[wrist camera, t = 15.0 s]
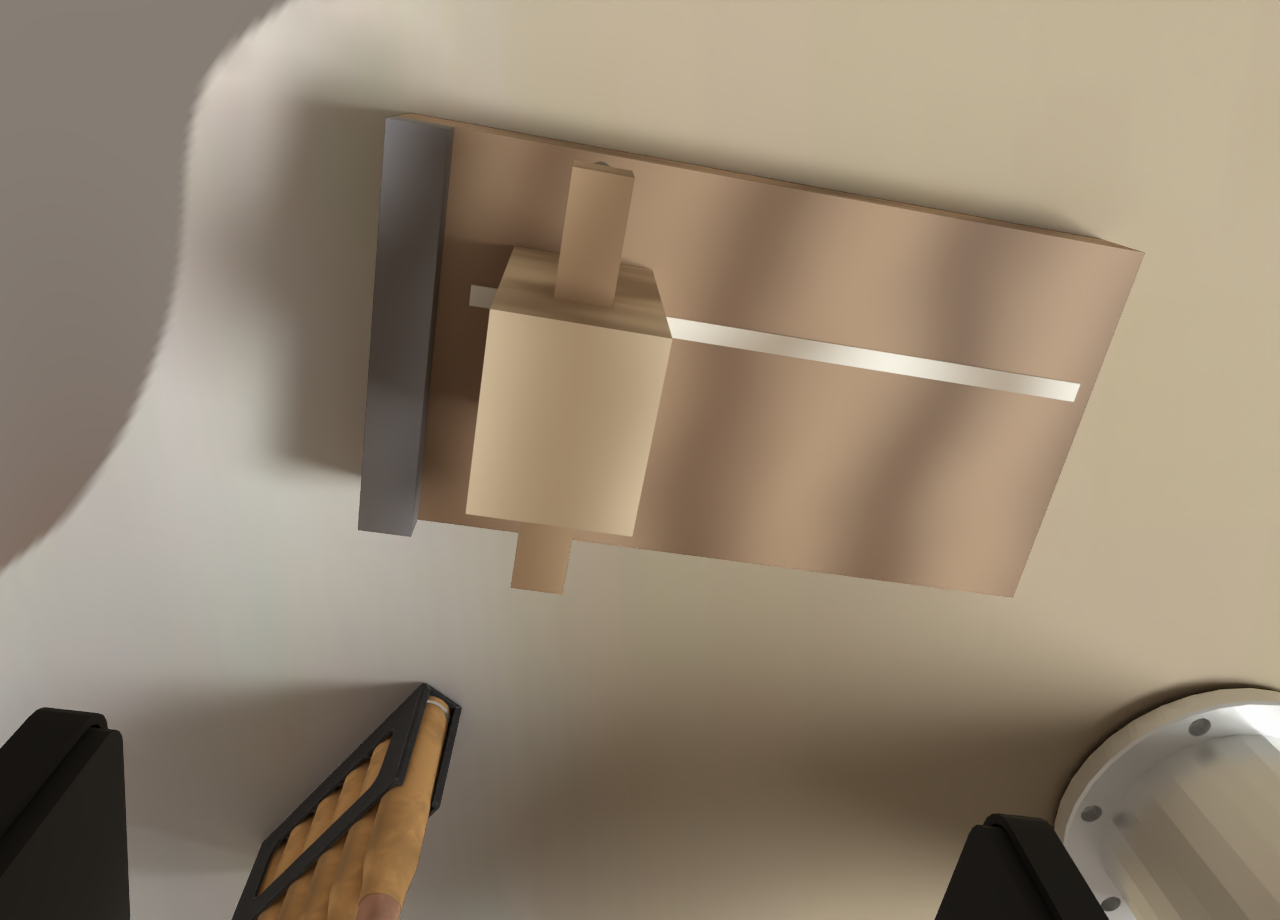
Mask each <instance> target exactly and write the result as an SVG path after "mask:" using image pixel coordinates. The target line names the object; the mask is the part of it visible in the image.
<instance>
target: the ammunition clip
mask: <svg viewBox="0 0 1280 920" xmlns="http://www.w3.org/2000/svg"><path fill="white" fill-rule="evenodd" d="M461 709H462V707H460V706H459V705H457V704H456V703H454V702H453V701H451V700H450V699H449V698H447V697H446V696H444V695H443V694H441V693H440V692H438V691H437V690H435V689H434V688H432V687H431V686H429V685H428V684H421V685H420V686H419V687H418V688H417V689H416V690H415V691H414V692H413V693H412V694H411V695H410V696H409V697H408V698H407V699H406V700H405V701H404V702H403V703H402V704H401V705H400V706H399V707H398V708H397V709H396V710H395V711H394V712H393V713H392V714H391V715H390V716H389V717H388V718H387V719H386V720H385V721H384V722H383V723H382V724H381V725H380V726H379V727H378V728H377V729H376V730H375V731H374V732H373V733H372V734H371V735H370V736H369V737H368V738H367V739H366V740H365V741H364V742H363V743H362V744H361V745H360V746H359V747H358V748H357V749H356V750H355V751H354V752H353V753H352V754H351V755H350V756H349V757H348V758H347V759H346V760H345V761H344V762H343V763H342V764H341V765H340V766H339V767H338V768H337V769H336V770H335V771H334V772H333V773H332V774H331V775H330V776H329V777H328V778H327V779H326V780H325V781H324V782H323V783H322V784H321V785H320V786H319V787H318V788H317V789H316V790H315V791H314V792H313V793H312V794H311V795H310V796H309V797H308V798H307V799H306V800H305V801H304V802H303V803H302V804H301V805H300V806H299V807H298V808H297V809H296V810H295V811H294V812H293V813H292V814H291V815H290V816H289V817H288V818H287V819H286V820H285V821H284V822H283V823H282V824H281V825H280V826H279V827H278V828H277V829H276V830H275V831H274V832H273V833H272V834H271V835H270V836H269V837H268V838H267V839H266V840H265V841H264V842H263V843H262V846H261V848H260V851H259V853H258V856H257V858H256V861H255V863H254V865H253V868H252V870H251V873H250V875H249V878H248V880H247V883H246V885H245V888H244V890H243V893H242V895H241V898H240V900H239V903H238V905H237V908H236V910H235V913H234V915H233V918H232V920H398V918H399V915H400V912H401V910H402V906H403V903H404V899H405V896H406V892H407V889H408V887H409V885H410V883H411V881H412V879H413V876H414V874H415V872H416V869H417V866H418V861H419V857H420V852H421V848H422V843H423V839H424V834H425V830H426V825H427V821H428V818H429V817H430V816H431V815H432V814H433V813H434V812H435V811H436V810H437V809H438V808H439V807H440V803H441V799H442V794H443V790H444V785H445V781H446V776H447V772H448V767H449V763H450V758H451V754H452V749H453V745H454V740H455V736H456V732H457V727H458V723H459V718H460V714H461Z"/></svg>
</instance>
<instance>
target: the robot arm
mask: <svg viewBox="0 0 1280 920" xmlns="http://www.w3.org/2000/svg"><path fill="white" fill-rule="evenodd" d="M0 920H130V903H129V879H128V855H127V831H126V807H125V782H124V758H123V740H122V735H121V733H120V731H117V730H111V729H108V726H107V721H106V719H105V717H104V715H102V714H99V713H91V712H82V711H73V710H64V709H55V708H46V707H44V708H41V709H38V710H36V711H35V712H34V713H33V714H32V715H31V716H29V718H28V719H27V720H26V721H25V722H24V723H23V724H22V725H21V726H20V728H19V729H18V730H17V731H16V732H15V733H14V734H13V735H12V736H11V737H10V739H9V740H8V741H7V742H6V743H5V744H4V745H3V746H2V747H1V749H0ZM935 920H1280V692H1277V691H1270V690H1262V689H1254V688H1241V689H1221V690H1216V691H1211V692H1206V693H1201V694H1196V695H1191V696H1188V697H1185V698H1182V699H1179V700H1177V701H1174V702H1171V703H1168V704H1165V705H1162V706H1160V707H1158V708H1156V709H1154V710H1152V711H1150V712H1148V713H1146V714H1144V715H1143V716H1141V717H1139V718H1137V719H1135V720H1133V721H1132V722H1130V723H1129V724H1127V725H1126V726H1125V727H1123V728H1122V729H1120V730H1119V731H1118V732H1116V733H1115V734H1113V735H1112V736H1110V737H1109V738H1108V739H1107V740H1106V741H1105V742H1104V743H1103V744H1102V745H1101V746H1100V747H1099V748H1098V749H1097V750H1095V751H1094V752H1093V753H1092V754H1091V755H1090V756H1089V757H1088V759H1087V760H1086V761H1085V762H1084V764H1083V765H1082V766H1081V768H1080V769H1079V770H1078V772H1077V773H1076V774H1075V776H1074V777H1073V778H1072V780H1071V782H1070V784H1069V786H1068V788H1067V790H1066V791H1065V793H1064V795H1063V797H1062V799H1061V801H1060V805H1059V809H1058V812H1057V816H1056V820H1055V824H1054V829H1053V828H1052V826H1051V825H1050V824H1049V823H1048V822H1047V821H1045V820H1043V819H1042V818H1033V817H1024V816H1015V815H1006V814H991V815H990V816H989V817H987V819H986V820H985V822H984V824H983V825H976V826H974V827H973V828H972V830H971V831H970V833H969V836H968V838H967V840H966V843H965V845H964V848H963V850H962V853H961V855H960V858H959V860H958V863H957V865H956V868H955V870H954V873H953V875H952V878H951V880H950V883H949V885H948V888H947V890H946V893H945V895H944V898H943V900H942V903H941V905H940V908H939V910H938V913H937V915H936V918H935Z"/></svg>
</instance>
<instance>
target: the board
mask: <svg viewBox="0 0 1280 920" xmlns="http://www.w3.org/2000/svg"><path fill="white" fill-rule="evenodd" d="M574 160H577V161H583V162H588V163H593V164H594V163H596V162H599V161H602V162H605V163H607V164H609V165H610V167H615V168H620V169H626V170H631V171H633V174H634V177H635V181H634V187H633V192H632V198H631V204H630V210H629V215H628V221H627V227H626V233H625V238H624V244H623V250H622V255H621V261H620V264H622V265H628V266H634V267H639V268H645V269H651V270H653V273H654V277H655V280H656V284H657V287H658V291H659V294H660V297H661V301H662V304H663V308H664V311H665V315H666V318H667V321H668V325H669V328H670V332H671V335H672V344H671V349H670V354H669V359H668V364H667V369H666V374H665V378H664V383H663V388H662V393H661V398H660V403H659V408H658V413H657V418H656V423H655V428H654V432H653V437H652V442H651V447H650V452H649V457H648V462H647V467H646V472H645V477H644V482H643V486H642V491H641V496H640V501H639V506H638V511H637V516H636V521H635V526H634V531H633V535H632V537H631V536H624V535H616V534H609V533H602V532H594V531H587V530H580V529H574V531H573V537H572V540H578V541H586V542H593V543H601V544H608V545H616V546H624V547H631V548H639V549H646V550H654V551H662V552H669V553H677V554H684V555H692V556H700V557H707V558H715V559H723V560H730V561H738V562H745V563H753V564H761V565H768V566H776V567H783V568H791V569H799V570H806V571H814V572H821V573H829V574H837V575H844V576H852V577H859V578H867V579H875V580H882V581H890V582H897V583H905V584H913V585H920V586H928V587H935V588H943V589H951V590H958V591H966V592H974V593H981V594H989V595H996V596H1004V597H1012V598H1013V596H1014V593H1015V591H1016V588H1017V586H1018V583H1019V580H1020V578H1021V575H1022V573H1023V570H1024V567H1025V565H1026V562H1027V560H1028V557H1029V554H1030V552H1031V549H1032V546H1033V544H1034V541H1035V539H1036V536H1037V533H1038V531H1039V528H1040V526H1041V523H1042V520H1043V518H1044V515H1045V513H1046V510H1047V507H1048V505H1049V502H1050V499H1051V497H1052V494H1053V492H1054V489H1055V486H1056V484H1057V481H1058V479H1059V476H1060V473H1061V471H1062V468H1063V466H1064V463H1065V460H1066V458H1067V455H1068V452H1069V450H1070V447H1071V445H1072V442H1073V439H1074V437H1075V434H1076V432H1077V429H1078V426H1079V424H1080V421H1081V419H1082V416H1083V413H1084V411H1085V408H1086V405H1087V403H1088V400H1089V398H1090V395H1091V392H1092V390H1093V387H1094V385H1095V382H1096V379H1097V377H1098V374H1099V372H1100V369H1101V366H1102V364H1103V361H1104V358H1105V356H1106V353H1107V351H1108V348H1109V345H1110V343H1111V340H1112V338H1113V335H1114V332H1115V330H1116V327H1117V325H1118V322H1119V319H1120V317H1121V314H1122V311H1123V309H1124V306H1125V304H1126V301H1127V298H1128V296H1129V293H1130V291H1131V288H1132V285H1133V283H1134V280H1135V278H1136V275H1137V272H1138V270H1139V267H1140V264H1141V262H1142V259H1143V257H1144V254H1145V253H1144V252H1141V251H1137V250H1134V249H1131V248H1128V247H1125V246H1122V245H1118V244H1115V243H1112V242H1109V241H1106V240H1102V239H1097V238H1091V237H1086V236H1080V235H1075V234H1069V233H1064V232H1059V231H1053V230H1048V229H1042V228H1037V227H1031V226H1026V225H1020V224H1015V223H1009V222H1004V221H998V220H993V219H988V218H982V217H977V216H971V215H966V214H960V213H955V212H949V211H944V210H938V209H933V208H927V207H922V206H917V205H911V204H906V203H900V202H895V201H889V200H884V199H878V198H873V197H867V196H862V195H856V194H851V193H846V192H840V191H835V190H829V189H824V188H818V187H813V186H807V185H802V184H796V183H791V182H785V181H780V180H775V179H769V178H764V177H758V176H753V175H747V174H742V173H736V172H731V171H725V170H720V169H714V168H709V167H704V166H698V165H693V164H687V163H682V162H676V161H671V160H665V159H660V158H654V157H649V156H643V155H638V154H633V153H627V152H622V151H616V150H611V149H605V148H600V147H594V146H589V145H583V144H578V143H572V142H567V141H562V140H556V139H551V138H545V137H540V136H534V135H529V134H523V133H518V132H512V131H507V130H501V129H496V128H491V127H485V126H480V125H474V124H469V123H463V122H458V121H452V120H447V119H441V118H436V117H431V116H425V115H420V114H414V113H407V114H402V115H397V116H392V117H388V118H386V121H385V136H384V151H383V166H382V180H381V195H380V210H379V225H378V240H377V254H376V269H375V284H374V299H373V314H372V329H371V343H370V358H369V373H368V388H367V403H366V418H365V432H364V447H363V462H362V477H361V492H360V507H359V521H358V530H362V531H370V532H378V533H385V534H393V535H401V536H409V537H411V535H412V532H413V530H414V527H415V525H416V522H417V519H418V520H426V521H433V522H441V523H449V524H456V525H464V526H471V527H479V528H487V529H494V530H502V531H510V532H517V533H519V528H520V522H521V521H514V520H507V519H499V518H492V517H485V516H477V515H470V514H466V506H467V497H468V489H469V481H470V472H471V464H472V456H473V447H474V439H475V431H476V422H477V414H478V406H479V397H480V389H481V380H482V372H483V364H484V355H485V347H486V339H487V330H488V322H489V314H490V308H491V305H492V303H493V300H494V298H495V295H496V292H497V290H498V287H499V285H500V282H501V280H502V277H503V274H504V272H505V269H506V267H507V264H508V261H509V259H510V256H511V254H512V251H513V249H514V246H518V247H524V248H529V249H535V250H541V251H547V252H553V253H558V254H560V250H561V243H562V236H563V229H564V223H565V216H566V209H567V202H568V195H569V189H570V182H571V175H572V168H573V162H574Z"/></svg>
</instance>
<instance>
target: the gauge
mask: <svg viewBox="0 0 1280 920" xmlns="http://www.w3.org/2000/svg"><path fill="white" fill-rule="evenodd" d="M634 181H635V177H634V174H633V171H631V170H626V169H620V168H615V167H610V165H609V164H607V163H605V162H602V161H599V162H596V163H594V164H593V163H588V162H583V161H577V160H574V162H573V168H572V175H571V182H570V189H569V195H568V202H567V209H566V216H565V223H564V229H563V236H562V243H561V250H560V254H558V253H553V252H547V251H541V250H535V249H529V248H524V247H518V246H514V249H513V251H512V254H511V256H510V259H509V261H508V264H507V267H506V269H505V272H504V274H503V277H502V280H501V282H500V285H499V287H498V290H497V292H496V295H495V298H494V300H493V303H492V305H491V308H490V314H489V322H488V330H487V339H486V347H485V355H484V364H483V372H482V380H481V389H480V397H479V406H478V414H477V422H476V431H475V439H474V447H473V456H472V464H471V472H470V481H469V489H468V497H467V506H466V514H470V515H477V516H485V517H492V518H499V519H507V520H514V521H521V522H520V528H519V535H518V542H517V549H516V556H515V562H514V569H513V576H512V583H511V588H517V589H524V590H532V591H540V592H548V593H556V594H563V589H564V583H565V577H566V571H567V566H568V560H569V554H570V548H571V543H572V537H573V531H574V529H580V530H587V531H594V532H602V533H609V534H616V535H624V536H631V537H632V535H633V531H634V526H635V521H636V516H637V511H638V506H639V501H640V496H641V491H642V486H643V482H644V477H645V472H646V467H647V462H648V457H649V452H650V447H651V442H652V437H653V432H654V428H655V423H656V418H657V413H658V408H659V403H660V398H661V393H662V388H663V383H664V378H665V374H666V369H667V364H668V359H669V354H670V349H671V344H672V335H671V332H670V328H669V325H668V321H667V318H666V315H665V311H664V308H663V304H662V301H661V297H660V294H659V291H658V287H657V284H656V280H655V277H654V273H653V270H651V269H645V268H639V267H634V266H628V265H622V264H620V261H621V255H622V250H623V244H624V238H625V233H626V227H627V221H628V215H629V210H630V204H631V198H632V192H633V187H634Z"/></svg>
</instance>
